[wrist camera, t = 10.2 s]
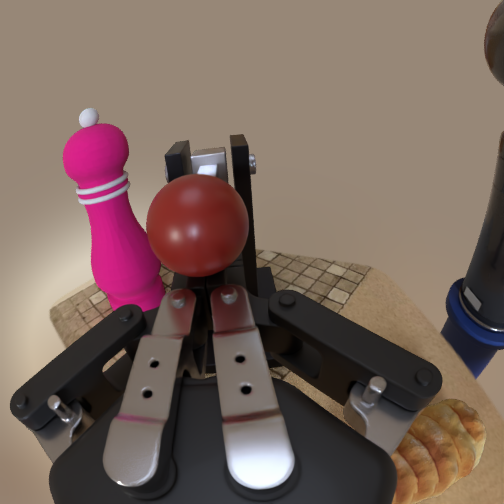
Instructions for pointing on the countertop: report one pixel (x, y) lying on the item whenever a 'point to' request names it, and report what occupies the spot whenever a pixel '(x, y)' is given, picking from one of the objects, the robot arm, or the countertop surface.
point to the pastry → (437, 451)
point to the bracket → (243, 167)
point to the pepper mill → (112, 215)
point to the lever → (198, 218)
